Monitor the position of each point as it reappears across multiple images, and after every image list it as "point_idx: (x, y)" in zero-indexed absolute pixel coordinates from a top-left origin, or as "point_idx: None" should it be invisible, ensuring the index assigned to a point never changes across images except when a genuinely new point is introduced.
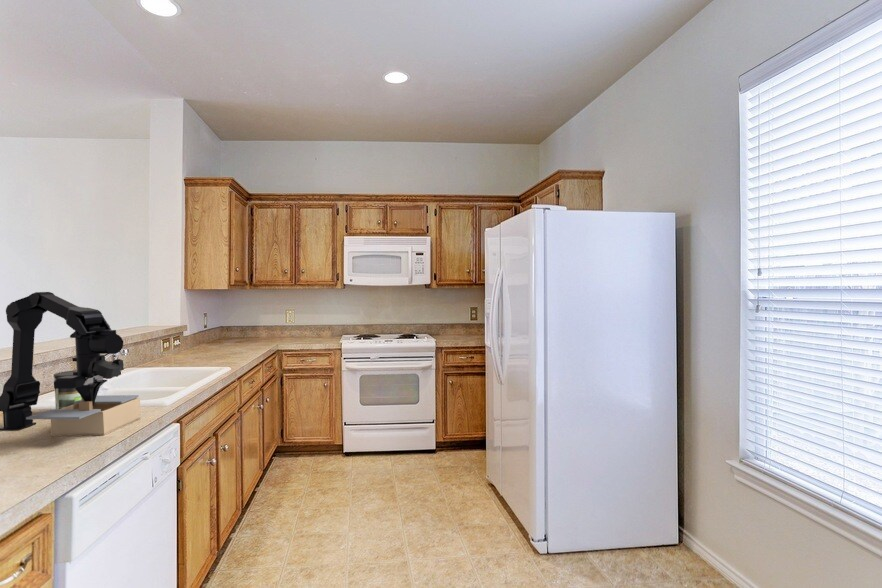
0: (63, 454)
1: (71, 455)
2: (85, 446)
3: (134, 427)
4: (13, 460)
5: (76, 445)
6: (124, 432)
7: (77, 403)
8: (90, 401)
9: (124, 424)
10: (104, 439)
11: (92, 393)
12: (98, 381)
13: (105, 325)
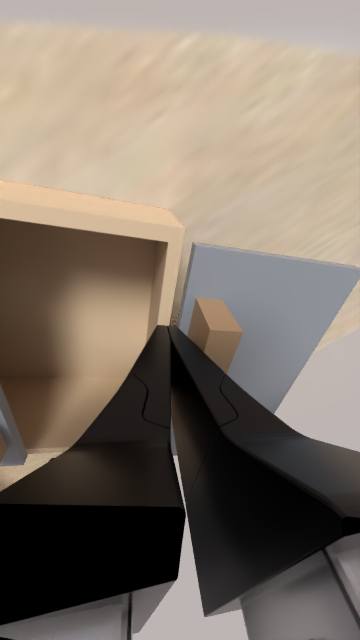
0: (353, 235)
1: None
2: (296, 205)
3: (31, 97)
4: (331, 335)
5: (269, 249)
6: (129, 115)
7: (23, 447)
8: (210, 340)
9: (19, 183)
10: (227, 171)
11: (208, 386)
12: (123, 598)
13: None
